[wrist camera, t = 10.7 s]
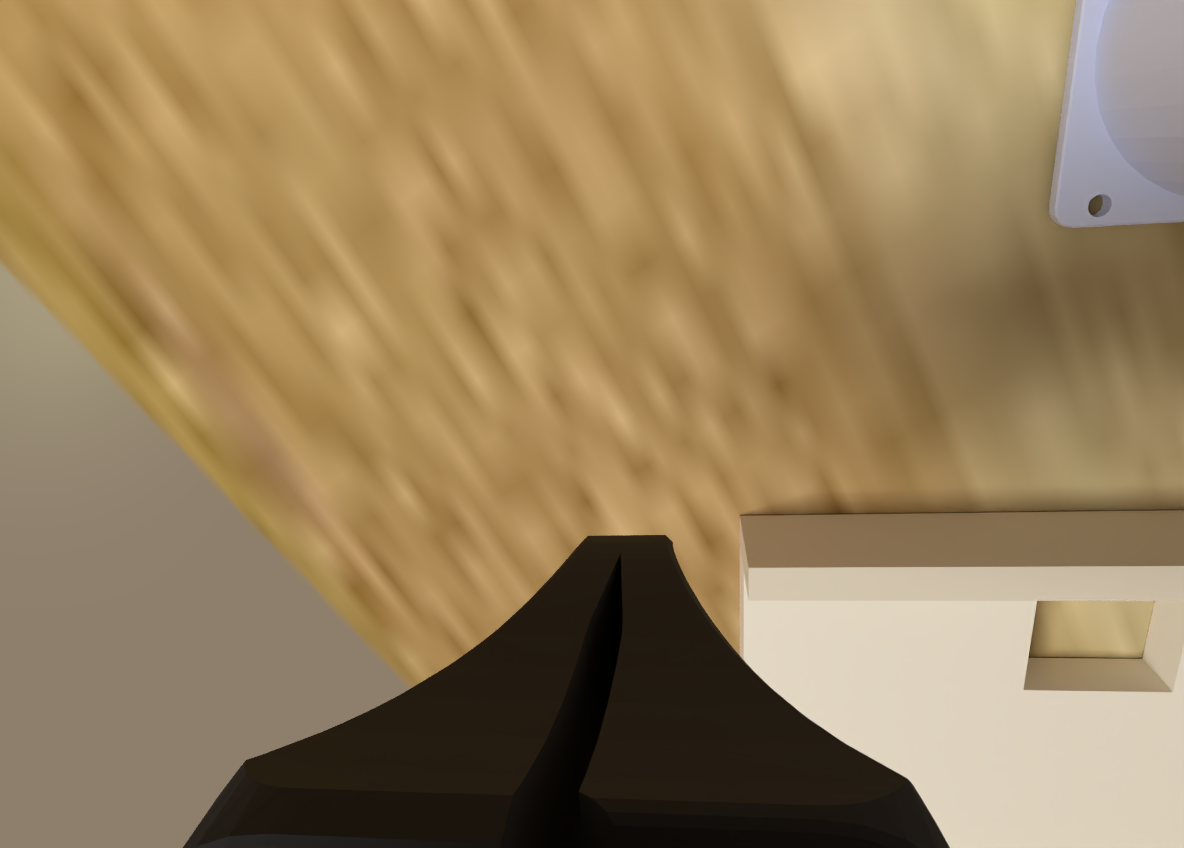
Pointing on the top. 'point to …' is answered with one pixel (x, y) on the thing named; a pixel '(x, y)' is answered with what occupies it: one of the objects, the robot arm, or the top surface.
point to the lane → (982, 664)
